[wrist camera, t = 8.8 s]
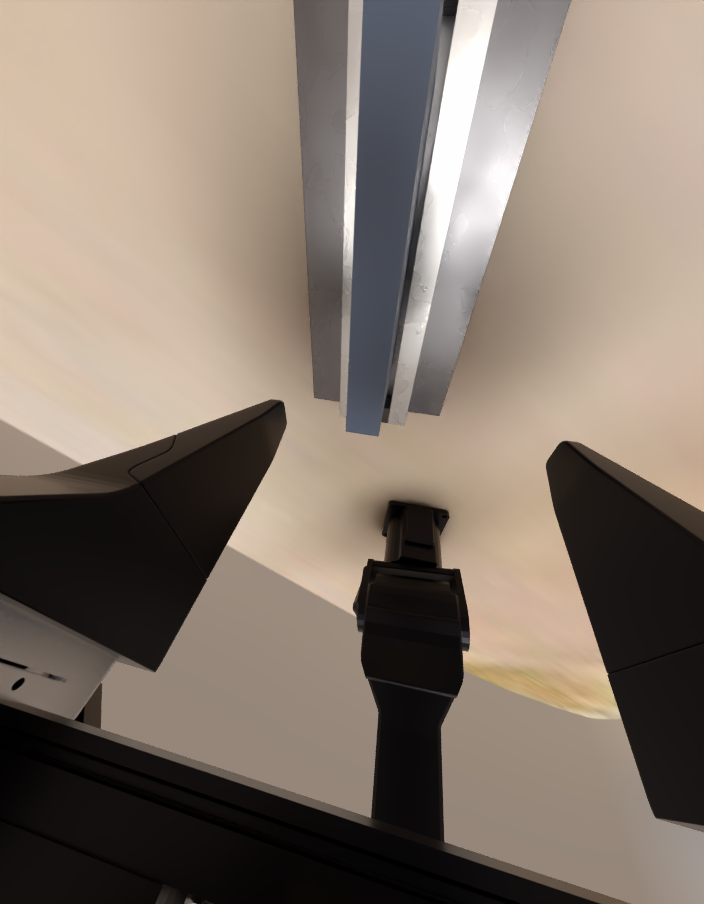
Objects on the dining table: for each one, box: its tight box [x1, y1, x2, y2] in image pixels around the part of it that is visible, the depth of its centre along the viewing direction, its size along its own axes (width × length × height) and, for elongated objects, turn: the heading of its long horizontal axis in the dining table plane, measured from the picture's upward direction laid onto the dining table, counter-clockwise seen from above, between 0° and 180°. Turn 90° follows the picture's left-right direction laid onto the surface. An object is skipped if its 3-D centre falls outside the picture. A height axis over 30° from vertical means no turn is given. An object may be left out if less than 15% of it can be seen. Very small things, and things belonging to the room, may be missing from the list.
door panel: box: [346, 0, 444, 436], centre depth 12 cm, size 12×2×8 cm, turn 177°
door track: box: [294, 0, 571, 425], centre depth 14 cm, size 18×10×3 cm, turn 177°
